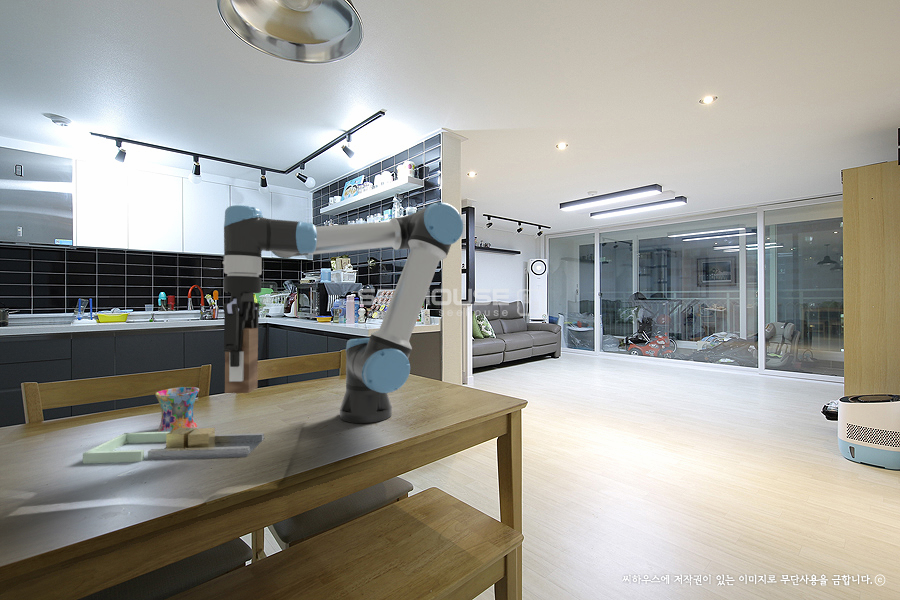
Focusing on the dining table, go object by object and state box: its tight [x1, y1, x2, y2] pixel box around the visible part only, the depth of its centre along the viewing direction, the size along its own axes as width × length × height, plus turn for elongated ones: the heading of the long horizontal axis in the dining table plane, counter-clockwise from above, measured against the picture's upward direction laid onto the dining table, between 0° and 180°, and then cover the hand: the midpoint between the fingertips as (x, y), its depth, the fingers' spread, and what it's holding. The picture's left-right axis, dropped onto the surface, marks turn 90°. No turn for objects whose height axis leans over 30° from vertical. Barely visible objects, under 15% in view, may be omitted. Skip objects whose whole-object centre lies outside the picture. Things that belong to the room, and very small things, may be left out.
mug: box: [154, 386, 200, 432], centre depth 102 cm, size 12×9×11 cm
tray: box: [82, 431, 169, 464], centre depth 86 cm, size 11×12×3 cm
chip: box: [165, 427, 198, 449], centre depth 87 cm, size 4×4×4 cm
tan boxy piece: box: [188, 427, 216, 448], centre depth 87 cm, size 4×4×4 cm
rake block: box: [224, 327, 259, 394], centre depth 88 cm, size 5×5×14 cm
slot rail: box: [145, 432, 265, 461], centre depth 88 cm, size 20×11×2 cm, turn 96°
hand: (242, 378), depth 88 cm, fingers closed on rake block, 5 cm apart
